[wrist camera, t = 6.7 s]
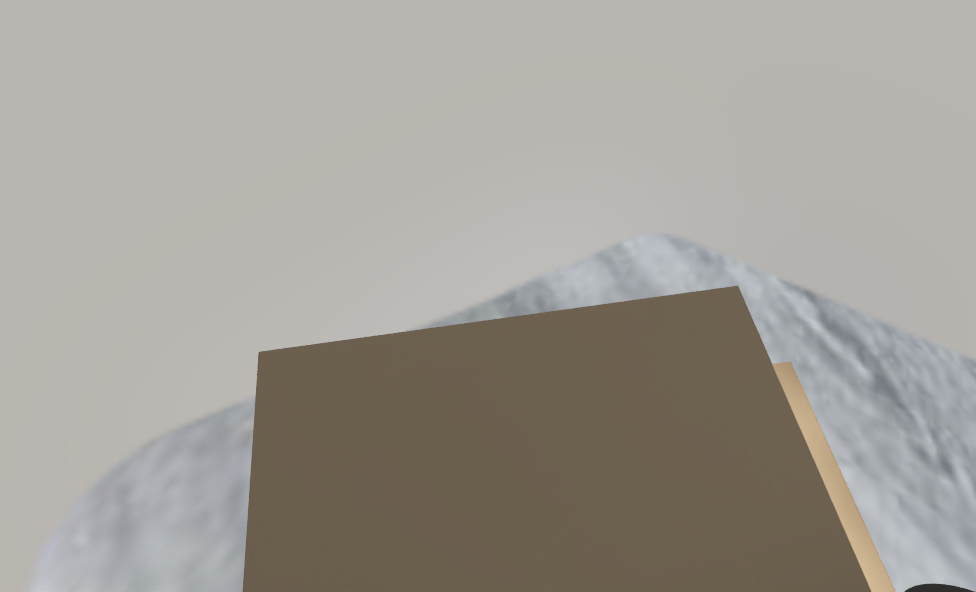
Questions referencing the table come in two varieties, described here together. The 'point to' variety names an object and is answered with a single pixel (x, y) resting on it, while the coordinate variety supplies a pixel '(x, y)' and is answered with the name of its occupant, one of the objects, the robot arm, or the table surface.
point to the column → (541, 460)
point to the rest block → (834, 481)
